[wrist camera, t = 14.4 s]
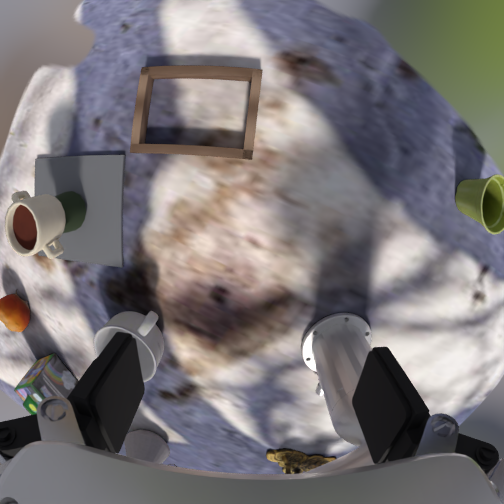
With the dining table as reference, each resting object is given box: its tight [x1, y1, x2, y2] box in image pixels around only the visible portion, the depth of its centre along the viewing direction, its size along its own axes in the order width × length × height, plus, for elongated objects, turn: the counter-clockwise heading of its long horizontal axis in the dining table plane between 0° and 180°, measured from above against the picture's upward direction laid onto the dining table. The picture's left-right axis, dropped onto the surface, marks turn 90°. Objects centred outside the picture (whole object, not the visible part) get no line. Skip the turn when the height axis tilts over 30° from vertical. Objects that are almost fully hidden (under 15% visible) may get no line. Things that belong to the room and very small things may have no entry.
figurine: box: [266, 448, 336, 474], centre depth 49 cm, size 13×25×20 cm, turn 49°
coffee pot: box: [124, 429, 177, 467], centre depth 47 cm, size 21×12×15 cm, turn 136°
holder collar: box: [130, 66, 262, 160], centre depth 34 cm, size 12×16×2 cm
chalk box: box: [14, 353, 78, 415], centre depth 42 cm, size 9×9×15 cm
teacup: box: [94, 311, 164, 382], centre depth 41 cm, size 14×11×8 cm
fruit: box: [0, 289, 30, 332], centre depth 41 cm, size 8×8×8 cm
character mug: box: [5, 191, 86, 259], centre depth 32 cm, size 11×7×13 cm, turn 36°
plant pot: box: [455, 174, 504, 234], centre depth 35 cm, size 9×9×9 cm
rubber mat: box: [35, 155, 125, 267], centre depth 38 cm, size 17×18×1 cm
